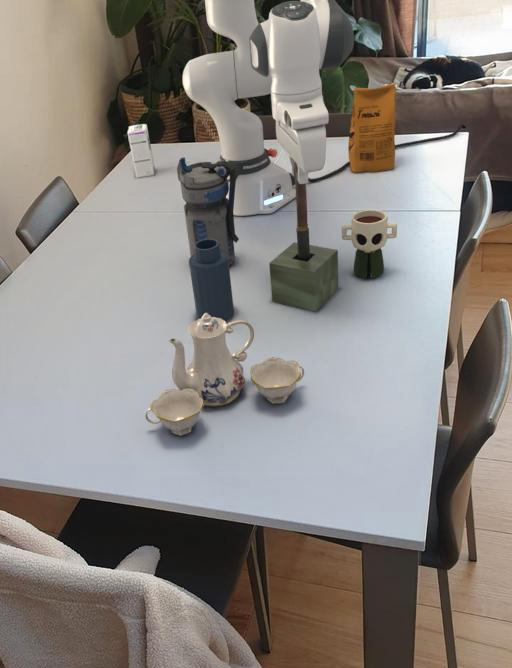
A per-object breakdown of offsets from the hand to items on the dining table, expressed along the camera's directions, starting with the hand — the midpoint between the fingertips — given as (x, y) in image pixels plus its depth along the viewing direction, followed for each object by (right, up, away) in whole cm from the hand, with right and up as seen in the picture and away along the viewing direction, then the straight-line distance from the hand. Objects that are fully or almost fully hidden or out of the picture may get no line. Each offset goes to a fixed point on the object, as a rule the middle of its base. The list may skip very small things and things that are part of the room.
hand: (300, 179), depth 134 cm
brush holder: (+4, -20, +14) cm, 25 cm away
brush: (+3, -15, +10) cm, 18 cm away
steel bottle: (-15, -25, +13) cm, 32 cm away
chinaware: (-15, -41, -11) cm, 45 cm away
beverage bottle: (-14, -12, +32) cm, 36 cm away
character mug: (+18, -15, +18) cm, 30 cm away
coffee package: (+32, +20, +66) cm, 76 cm away
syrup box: (-32, +25, +89) cm, 97 cm away
